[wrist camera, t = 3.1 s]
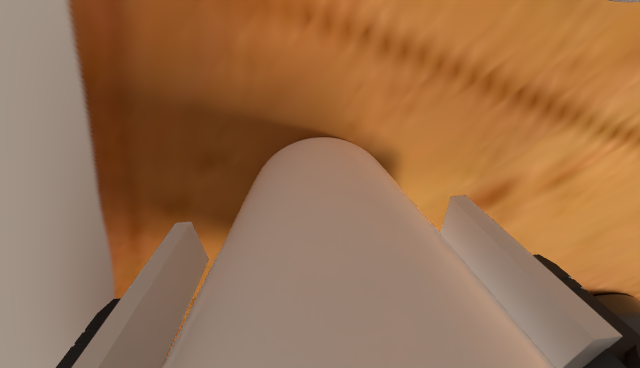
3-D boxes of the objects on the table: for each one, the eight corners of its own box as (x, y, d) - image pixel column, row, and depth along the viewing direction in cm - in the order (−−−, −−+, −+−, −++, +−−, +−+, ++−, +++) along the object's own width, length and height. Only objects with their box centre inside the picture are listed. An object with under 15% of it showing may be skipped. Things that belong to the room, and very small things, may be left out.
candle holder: (388, 247, 17) (520, 547, 7) (257, 258, 17) (187, 592, 6) (409, 115, 12) (1039, 506, 2) (222, 127, 12) (-361, 701, 1)
